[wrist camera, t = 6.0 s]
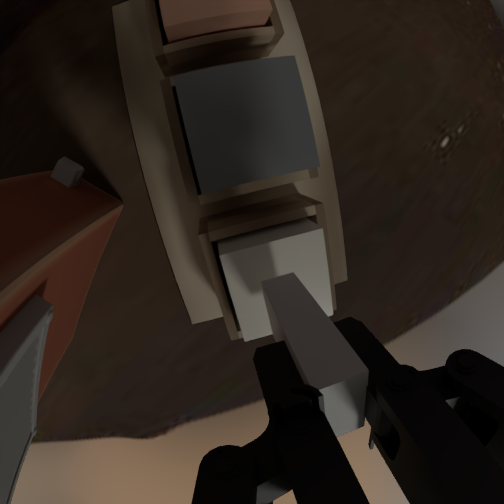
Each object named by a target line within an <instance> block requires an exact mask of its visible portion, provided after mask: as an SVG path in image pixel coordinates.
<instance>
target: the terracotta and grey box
mask: <svg viewBox="0 0 504 504" xmlns="http://www.w3.org/2000/svg"><path fill="white" fill-rule="evenodd" d="M83 173H84V168H83V167H82V166H81V165H79V164H77V163H76V162H74V161H72V160H70V159H68V158H67V157H63V158H61V159H60V160H58V162H57V164H56V166H55V168H54V170H51V171H44V172H38V173H32V174H27V175H21V176H16V177H11V178H6V179H1V180H0V504H10V503H11V500H12V497H13V493H14V490H15V486H16V483H17V480H18V477H19V474H20V471H21V468H22V465H23V462H24V459H25V456H26V454H27V451H28V448H29V446H30V443H31V441H32V438H33V436H34V435H36V433H37V428H36V415H37V404H38V402H39V400H40V398H41V396H42V394H43V392H44V390H45V388H46V386H47V384H48V382H49V380H50V378H51V376H52V374H53V372H54V371H55V369H56V367H57V365H58V363H59V361H60V360H61V358H62V356H63V354H64V352H65V351H66V349H67V347H68V345H69V344H70V342H71V340H72V339H73V336H74V333H75V329H76V326H77V323H78V319H79V316H80V313H81V310H82V307H83V304H84V301H85V298H86V295H87V293H88V290H89V287H90V284H91V281H92V279H93V276H94V273H95V271H96V268H97V266H98V263H99V261H100V258H101V256H102V253H103V251H104V248H105V246H106V244H107V241H108V239H109V237H110V234H111V232H112V230H113V228H114V225H115V223H116V221H117V219H118V217H119V215H120V213H121V210H122V208H123V204H124V203H123V202H122V201H121V200H119V199H117V198H115V197H114V196H112V195H110V194H108V193H106V192H105V191H103V190H101V189H99V188H98V187H96V186H94V185H92V184H91V183H89V182H87V181H85V180H84V179H82V175H83Z"/></svg>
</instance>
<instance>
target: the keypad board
mask: <svg viewBox="0 0 504 504" xmlns="http://www.w3.org/2000/svg"><path fill="white" fill-rule="evenodd" d="M270 3H271V6H272V9H273V10H272V12H271V14H270V16H269V18H268V20H267V21H266V23H265V25H264V27H259V28H250V29H242V30H235V31H228V32H222V33H217V34H211V35H206V36H201V37H196V38H192V39H188V40H183V41H179V42H175V43H172V44H169V42H168V38H167V35H166V32H165V29H164V24H163V19H162V14H161V9H160V3H159V0H129V1H126V2H123V3H120V4H118V5H115V6H112V13H113V21H114V30H115V37H116V44H117V51H118V58H119V64H120V70H121V75H122V81H123V86H124V92H125V97H126V102H127V107H128V111H129V116H130V121H131V125H132V130H133V134H134V138H135V143H136V147H137V151H138V155H139V159H140V163H141V167H142V170H143V174H144V178H145V182H146V185H147V189H148V192H149V196H150V199H151V203H152V206H153V210H154V213H155V216H156V220H157V223H158V226H159V230H160V233H161V236H162V239H163V242H164V245H165V248H166V251H167V254H168V257H169V260H170V263H171V266H172V269H173V272H174V275H175V278H176V281H177V283H178V286H179V289H180V292H181V294H182V297H183V300H184V303H185V305H186V308H187V311H188V313H189V316H190V318H191V321H192V324H195V323H199V322H203V321H207V320H211V319H215V318H219V317H224V320H225V323H226V326H227V329H228V332H229V335H230V338H231V341H232V340H236V339H239V338H243V334H242V331H241V328H240V324H239V321H238V318H237V314H236V311H235V308H234V304H233V301H232V298H231V294H230V291H229V287H228V284H227V280H226V277H225V273H224V270H223V266H222V263H221V259H220V256H219V249H218V243H217V240H219V239H223V238H226V237H230V236H234V235H238V234H241V233H245V232H249V231H253V230H257V229H261V228H264V227H268V226H272V225H276V224H280V223H284V222H288V221H292V220H296V219H300V218H304V217H306V218H308V219H309V220H311V221H312V222H314V223H315V224H317V225H319V226H320V227H322V228H323V234H324V240H325V248H326V255H327V263H328V271H329V279H330V288H331V297H332V307H333V310H336V298H335V288H334V284H337V283H340V282H343V281H346V280H347V268H346V258H345V248H344V240H343V231H342V223H341V216H340V208H339V201H338V195H337V188H336V182H335V176H334V170H333V164H332V159H331V154H330V148H329V143H328V138H327V133H326V128H325V124H324V119H323V115H322V110H321V106H320V102H319V97H318V93H317V89H316V85H315V81H314V77H313V74H312V70H311V66H310V63H309V59H308V55H307V52H306V49H305V45H304V42H303V39H302V35H301V32H300V29H299V26H298V23H297V20H296V17H295V14H294V11H293V8H292V5H291V2H290V0H270ZM294 55H295V59H296V62H297V66H298V70H299V73H300V77H301V81H302V85H303V89H304V93H305V97H306V101H307V106H308V110H309V114H310V119H311V123H312V128H313V132H314V137H315V142H316V147H317V152H318V157H319V162H320V167H316V168H311V169H306V170H302V171H297V172H292V173H287V174H283V175H278V176H274V177H269V178H265V179H260V180H256V181H252V182H248V183H244V184H240V185H236V186H232V187H228V188H224V189H220V190H216V191H212V192H208V193H205V194H202V193H201V189H200V185H199V182H198V178H197V174H196V170H195V166H194V162H193V158H192V154H191V150H190V146H189V142H188V138H187V133H186V129H185V125H184V121H183V117H182V112H181V108H180V104H179V99H178V95H177V90H176V86H175V81H174V76H177V75H181V74H185V73H189V72H193V71H197V70H202V69H206V68H211V67H216V66H221V65H226V64H231V63H237V62H243V61H250V60H257V59H264V58H273V57H282V56H294Z"/></svg>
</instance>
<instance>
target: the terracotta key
mask: <svg viewBox="0 0 504 504" xmlns="http://www.w3.org/2000/svg"><path fill="white" fill-rule="evenodd" d="M159 3H160V9H161V14H162V19H163V24H164V29H165V32H166V35H167V38H168V42H169V44H172V43H175V42H179V41H183V40H188V39H192V38H196V37H201V36H206V35H211V34H217V33H222V32H228V31H235V30H242V29H250V28H259V27H264V25H265V23H266V21H267V20H268V18H269V16H270V14H271V12H272V10H273V9H272V6H271V3H270V0H159Z"/></svg>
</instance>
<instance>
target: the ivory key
mask: <svg viewBox="0 0 504 504" xmlns="http://www.w3.org/2000/svg"><path fill="white" fill-rule="evenodd" d="M217 243H218V249H219V256H220V259H221V263H222V266H223V270H224V273H225V277H226V280H227V284H228V287H229V291H230V294H231V298H232V301H233V304H234V308H235V311H236V314H237V318H238V321H239V324H240V328H241V331H242V334H243V337H244V341H249V340H253V339H256V338H260V337H264V336H267V335H271V334H273V333H272V330H271V325H270V321H269V317H268V313H267V308H266V304H265V300H264V296H263V291H262V287H261V283H260V282H261V281H264V280H268V279H271V278H275V277H278V276H282V275H285V274H289V273H292V272H294V273H295V275H296V276H297V277H298V279H299V280H300V281H301V282H302V284H303V285H304V286H305V287H306V289H307V290H308V291H309V293H310V294H311V295H312V296H313V298H314V299H315V300H316V302H317V303H318V304H319V305H320V307H321V308H322V309H323V311H324V312H325V313H326V315H327V316H328V317H329V316H331V315H333V307H332V297H331V288H330V279H329V271H328V263H327V255H326V248H325V240H324V234H323V228H322V227H320V226H319V225H317V224H315V223H314V222H312V221H311V220H309V219H308V218H306V217H304V218H300V219H296V220H292V221H288V222H284V223H280V224H276V225H272V226H268V227H264V228H261V229H257V230H253V231H249V232H245V233H241V234H238V235H234V236H230V237H226V238H223V239H219V240H217Z"/></svg>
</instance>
